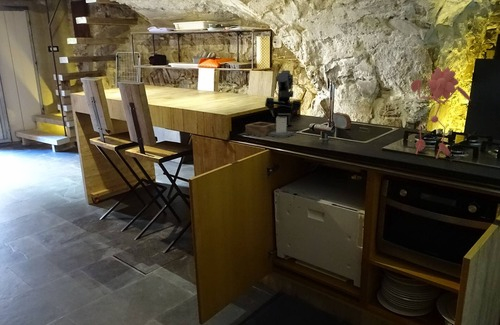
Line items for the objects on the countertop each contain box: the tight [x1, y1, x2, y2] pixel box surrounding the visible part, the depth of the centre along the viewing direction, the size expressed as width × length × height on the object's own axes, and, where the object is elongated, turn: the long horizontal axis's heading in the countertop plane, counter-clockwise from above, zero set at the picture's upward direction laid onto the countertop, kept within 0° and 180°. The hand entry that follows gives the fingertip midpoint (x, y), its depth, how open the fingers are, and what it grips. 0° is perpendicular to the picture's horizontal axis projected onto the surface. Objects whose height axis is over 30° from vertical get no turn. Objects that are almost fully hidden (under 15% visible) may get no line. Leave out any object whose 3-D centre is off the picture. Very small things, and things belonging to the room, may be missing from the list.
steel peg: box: [275, 116, 288, 134], centre depth 210 cm, size 5×5×8 cm
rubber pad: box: [268, 130, 296, 139], centre depth 211 cm, size 10×10×2 cm
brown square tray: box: [244, 121, 276, 137], centre depth 217 cm, size 12×12×5 cm
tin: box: [332, 111, 352, 130], centre depth 226 cm, size 15×3×8 cm, turn 25°
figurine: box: [410, 67, 471, 162], centre depth 164 cm, size 15×26×35 cm, turn 34°
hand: (282, 117), depth 216 cm, fingers open, 9 cm apart
